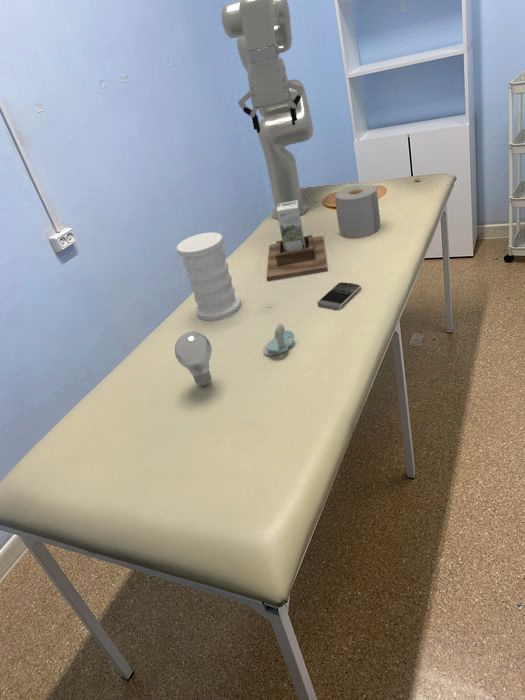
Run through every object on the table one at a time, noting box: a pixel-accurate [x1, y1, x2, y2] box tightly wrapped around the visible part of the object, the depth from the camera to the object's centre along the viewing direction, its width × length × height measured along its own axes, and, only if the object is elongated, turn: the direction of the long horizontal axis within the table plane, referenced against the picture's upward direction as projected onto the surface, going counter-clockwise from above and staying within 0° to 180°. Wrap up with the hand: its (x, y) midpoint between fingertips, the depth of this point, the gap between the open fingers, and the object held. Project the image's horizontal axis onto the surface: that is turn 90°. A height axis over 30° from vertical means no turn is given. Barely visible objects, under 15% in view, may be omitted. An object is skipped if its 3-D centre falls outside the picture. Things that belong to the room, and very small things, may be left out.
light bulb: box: [174, 331, 213, 387], centre depth 96 cm, size 7×7×12 cm
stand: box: [266, 234, 328, 282], centre depth 139 cm, size 22×16×4 cm
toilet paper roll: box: [334, 184, 381, 239], centre depth 145 cm, size 12×12×12 cm
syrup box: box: [277, 200, 306, 253], centre depth 135 cm, size 6×6×14 cm
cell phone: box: [317, 282, 362, 311], centre depth 117 cm, size 6×11×1 cm, turn 141°
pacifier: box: [262, 323, 295, 357], centre depth 103 cm, size 7×6×6 cm
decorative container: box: [176, 232, 242, 322], centre depth 120 cm, size 12×12×18 cm
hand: (276, 128), depth 134 cm, fingers open, 9 cm apart
